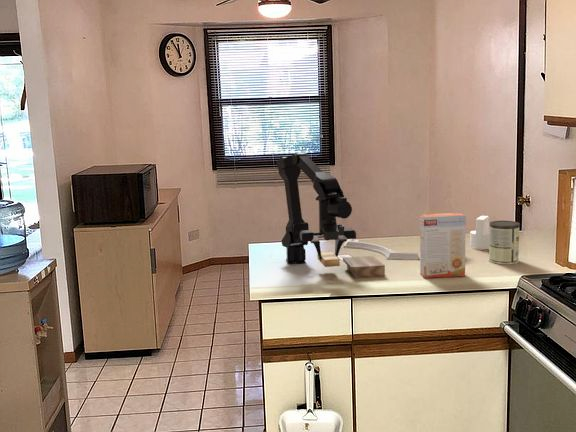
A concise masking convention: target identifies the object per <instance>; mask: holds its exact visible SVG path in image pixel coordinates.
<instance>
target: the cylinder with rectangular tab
mask: <svg viewBox="0 0 576 432" xmlns="http://www.w3.org/2000/svg"><path fill="white" fill-rule="evenodd" d="M469 233H470V234H469V236H470V237H469V238H470V239H469V248H470V249H473V248H474V250H480V249H488V250H489V244H490V215H480V216H478V217H477V218H475V230H471V231H470V232H469Z"/></svg>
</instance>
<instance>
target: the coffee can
mask: <svg viewBox="0 0 576 432" xmlns="http://www.w3.org/2000/svg"><path fill="white" fill-rule="evenodd" d="M520 226H521V223H520V222H518V221H512V220H493V221H489V231H490V244H489V249H488V250H489V253H488V254H489V256H488V261H489V262H490V263H493V264H495V265H496V264H497V265H515V264H518V263H519V261H520V260H519V251H520Z"/></svg>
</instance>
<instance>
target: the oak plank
mask: <svg viewBox="0 0 576 432" xmlns="http://www.w3.org/2000/svg"><path fill="white" fill-rule="evenodd" d="M317 260H318V261H319V262H320V263H321V264H322V265H323V267H324V268H328V267H329V268H330V267H331V268H333V267H340V265H341V263H340V260H341V259H340V258H339V257H337V256H336V255H335V252H333V251H332V250H329V251H321V260H320V258H319V256H318V255H317Z"/></svg>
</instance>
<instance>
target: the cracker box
mask: <svg viewBox="0 0 576 432" xmlns="http://www.w3.org/2000/svg"><path fill="white" fill-rule="evenodd" d="M466 217H467V216H466V214H463V213H462V212H450V213H448V212H447V213H445V212H444V213H427V214H425V213H424V214H420V215H419V223H420V224H419V234H420V235H419V240H420V241H419V243H420V245H419V248H420V249H419V250H420V255H419V259H420V260H419V261H420V263H419V264H420V265H419V268H420V269H419V270H420V272H419V273H420V275H421V276H422V277H423V278H424V279H428V278H430V279H431V278H432V279H433V278H449V277H450V278H451V277H465V276H466V232H467V231H466V225H467V224H466V221H467V220H466V219H467V218H466Z"/></svg>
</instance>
